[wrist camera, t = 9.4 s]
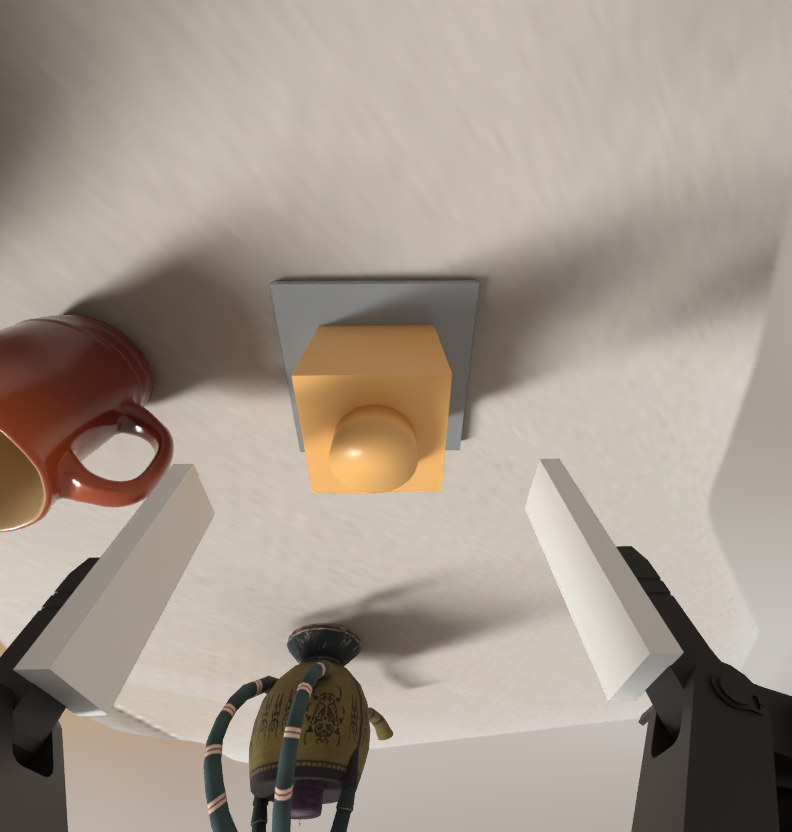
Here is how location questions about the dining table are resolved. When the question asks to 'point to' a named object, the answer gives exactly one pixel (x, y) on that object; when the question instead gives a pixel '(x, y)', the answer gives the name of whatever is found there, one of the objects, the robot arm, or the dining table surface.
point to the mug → (70, 416)
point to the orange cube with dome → (374, 408)
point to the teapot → (300, 736)
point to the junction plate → (381, 323)
